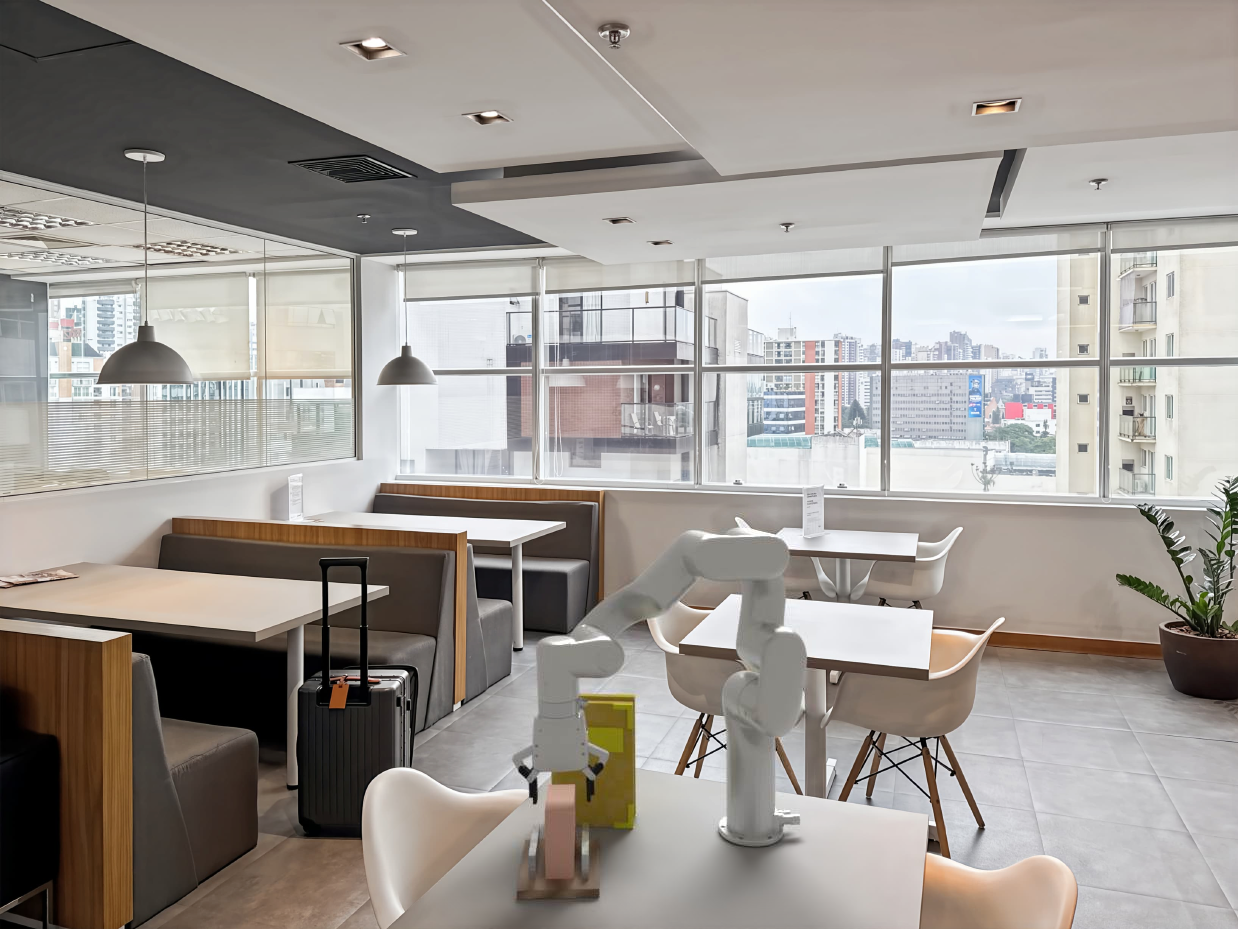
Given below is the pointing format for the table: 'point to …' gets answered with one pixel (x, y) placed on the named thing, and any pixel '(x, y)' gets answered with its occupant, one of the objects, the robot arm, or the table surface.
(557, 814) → the small book
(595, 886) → the shelf board
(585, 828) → the bookends
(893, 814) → the table surface
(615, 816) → the book
